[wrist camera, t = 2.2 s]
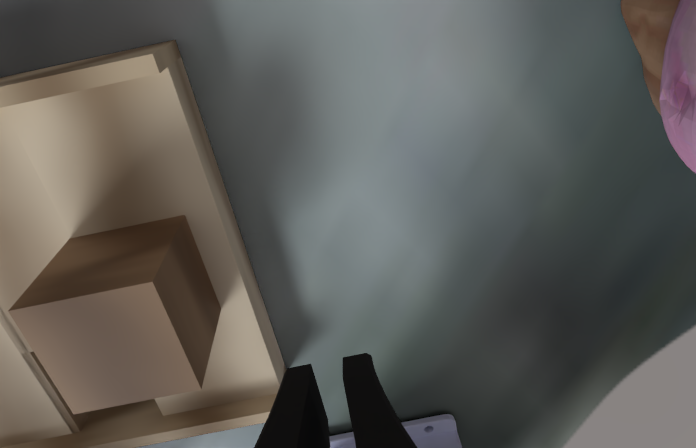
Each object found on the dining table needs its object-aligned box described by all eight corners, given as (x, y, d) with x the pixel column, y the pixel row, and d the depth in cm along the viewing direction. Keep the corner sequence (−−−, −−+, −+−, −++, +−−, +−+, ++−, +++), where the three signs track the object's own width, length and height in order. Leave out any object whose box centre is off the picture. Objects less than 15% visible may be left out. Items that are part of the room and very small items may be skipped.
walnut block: (184, 214, 19) (152, 281, 15) (221, 308, 21) (201, 389, 17) (69, 238, 19) (7, 311, 15) (117, 329, 22) (73, 414, 18)
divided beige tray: (175, 39, 18) (147, 56, 15) (286, 371, 26) (283, 427, 23) (-338, 151, 19) (-466, 189, 16) (-83, 443, 26) (-135, 508, 23)
